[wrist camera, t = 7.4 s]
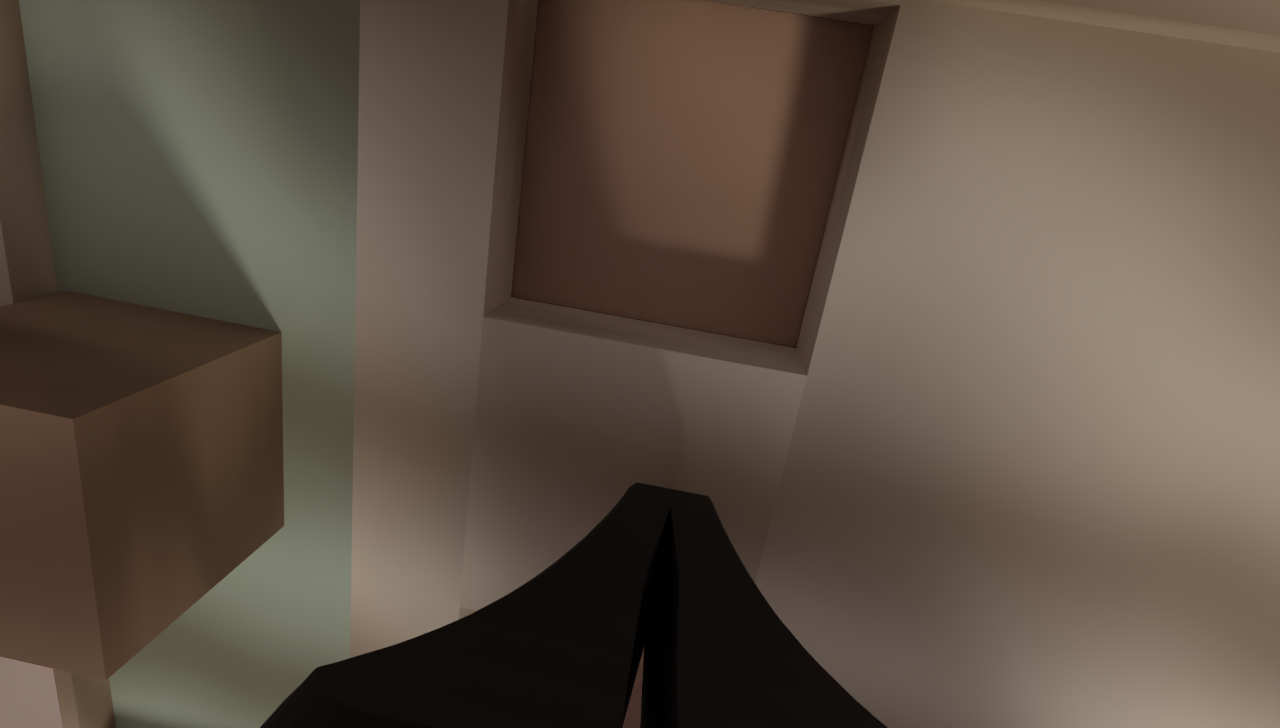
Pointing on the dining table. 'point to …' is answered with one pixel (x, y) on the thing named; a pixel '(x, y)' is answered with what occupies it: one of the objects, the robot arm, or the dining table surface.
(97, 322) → the walnut block
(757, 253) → the dining table surface
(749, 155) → the dining table surface
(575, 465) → the wooden tray
